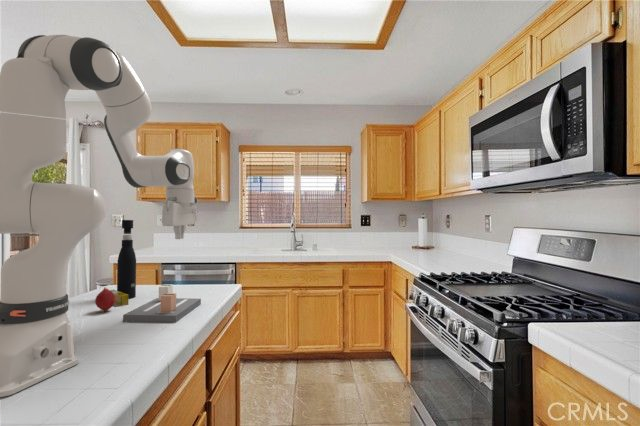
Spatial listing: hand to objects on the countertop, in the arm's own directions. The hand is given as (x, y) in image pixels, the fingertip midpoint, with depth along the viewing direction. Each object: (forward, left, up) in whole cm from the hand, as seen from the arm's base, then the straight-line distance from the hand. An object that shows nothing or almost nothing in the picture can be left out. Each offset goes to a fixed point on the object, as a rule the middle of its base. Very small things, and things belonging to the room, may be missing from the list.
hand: (179, 239), depth 121 cm
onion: (-2, +23, -24) cm, 34 cm away
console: (-2, +3, -24) cm, 24 cm away
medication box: (+10, +26, -25) cm, 37 cm away
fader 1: (+6, +7, -22) cm, 24 cm away
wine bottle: (+18, +27, -24) cm, 41 cm away
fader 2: (-8, 0, -22) cm, 23 cm away
